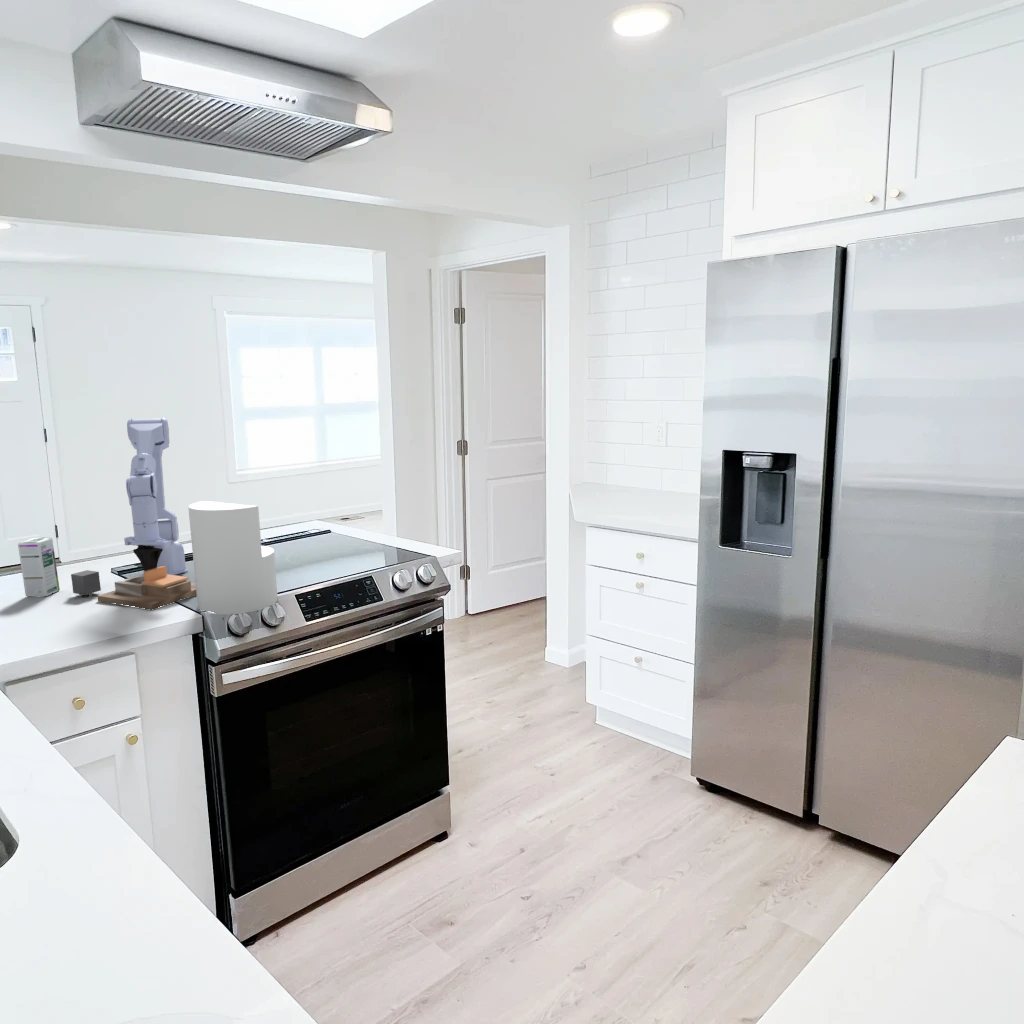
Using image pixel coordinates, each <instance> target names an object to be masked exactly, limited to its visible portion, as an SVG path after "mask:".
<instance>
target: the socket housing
mask: <svg viewBox="0 0 1024 1024" xmlns="http://www.w3.org/2000/svg"><path fill="white" fill-rule="evenodd" d="M143 581H144V573H142V574H138V575H135V576H132V577H128V578H125V579H121V580H117V581H115V582H114V589H115V590H113V591H108V592H106V593H102V594H98V595H97V602H99V601H101V602H100V603H105V602H108V603H107V604H111V603H116V604H115V605H117V604H123V605H129V606H135V607H139V608H138V609H141V608H145V609H144V610H147V609H150V610H149V611H153V610H152V609H154V610H156V609H155V608H157V609H159V608H158V607H160V606H163V605H166V606H168V605H167V604H169V605H171V604H170V603H172V604H174V603H173V602H175V601H178V600H180V599H184V598H187V597H189V598H192V597H195V596H197V594H196V583H195V582H191V580H185V581H182V582H179V583H176V584H172V585H169V586H166V587H156V586H149V585H142V584H141V582H143ZM194 595H195V596H194ZM191 596H192V597H191ZM187 599H188V598H187ZM184 600H185V599H184ZM178 602H179V601H178ZM175 603H176V602H175ZM123 605H122V606H123ZM129 606H128V607H129ZM135 607H134V608H135ZM163 607H164V606H163ZM160 608H161V607H160Z"/></svg>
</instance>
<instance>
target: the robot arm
mask: <svg viewBox="0 0 1024 1024" xmlns="http://www.w3.org/2000/svg"><path fill="white" fill-rule="evenodd" d="M126 424H127V425H126V429H127V430H126V432H127V436H128V437H127V438H128V440H129V441H130V444H131V446H132V447H133V449H134V450H136V454H135V455H134V456H133V457H132V459H131V463H130V473H129V474H130V475H129V477H126V480H125V486H126V487H125V488H126V494H127V496H128V502H129V506H131V507H130V508H131V517H132V525H133V535H134V536H127V537H123V540H124V545H125V546H137V548H135V549H132V550H133V553H134V555H135V556H136V557H137V558H138V560H139V562H140V564H141V566H142V569H143V571H147V570H150V569H154V568H157V567H161V566H166V572H167V574H169V575H176V576H178V575H179V574H182V573H185V572H188V571H189V569H188V568H186V558H185V550H184V546H183V544H182V543H181V542H180V541H178V540H179V524H178V523H179V522H178V519H177V516H176V514H175V512H173V511H171V510H169V509H167V508H166V501H165V498H166V497H165V488H164V476H163V475H164V474H163V473H164V472H163V460H162V457H163V453H164V452H163V451H164V450H165V449H167V448H169V447H170V428H169V423H168V419H167V418H166V417H157V418H156V417H155V418H152V417H151V418H150V417H149V418H129V419H128V420H127V423H126ZM164 519H166V520H164Z"/></svg>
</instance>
